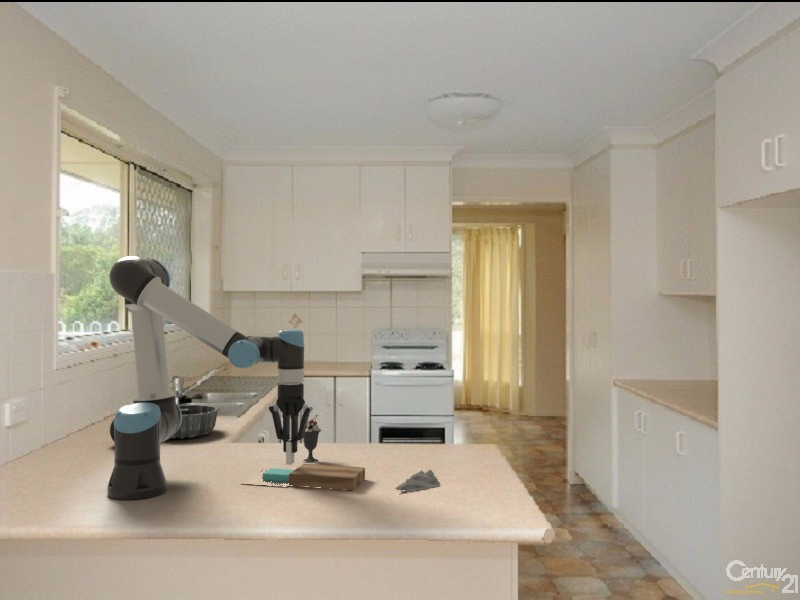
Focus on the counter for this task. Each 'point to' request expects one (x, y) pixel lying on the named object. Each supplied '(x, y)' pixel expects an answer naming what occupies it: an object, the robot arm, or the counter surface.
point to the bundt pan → (196, 421)
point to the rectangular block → (277, 475)
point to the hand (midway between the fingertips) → (290, 463)
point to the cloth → (419, 482)
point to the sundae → (311, 438)
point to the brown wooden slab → (327, 476)
